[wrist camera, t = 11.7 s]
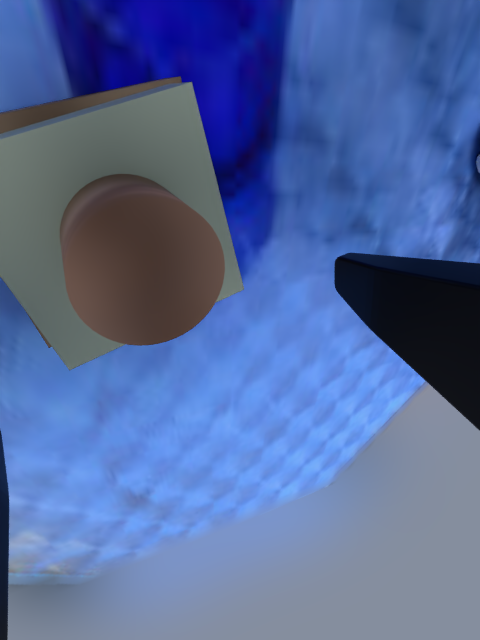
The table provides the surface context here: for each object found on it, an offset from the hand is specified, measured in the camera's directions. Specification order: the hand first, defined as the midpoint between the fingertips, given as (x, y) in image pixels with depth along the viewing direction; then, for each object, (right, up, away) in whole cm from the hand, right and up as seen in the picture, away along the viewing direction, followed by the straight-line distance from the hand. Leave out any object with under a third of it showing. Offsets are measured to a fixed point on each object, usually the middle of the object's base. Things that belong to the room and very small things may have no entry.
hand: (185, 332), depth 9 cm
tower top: (-5, +5, +8) cm, 11 cm away
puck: (-3, +4, +6) cm, 8 cm away
